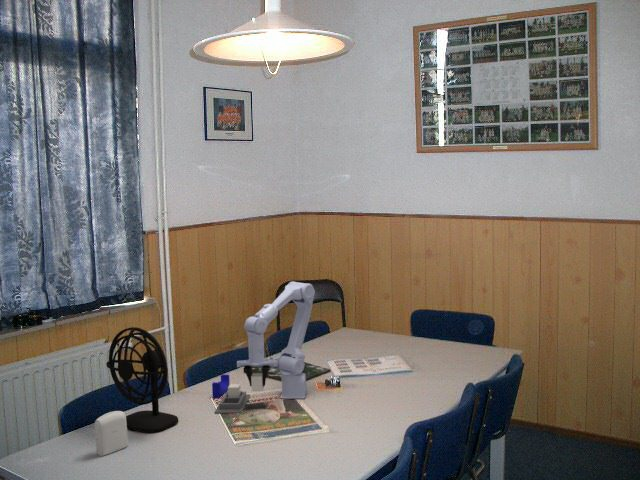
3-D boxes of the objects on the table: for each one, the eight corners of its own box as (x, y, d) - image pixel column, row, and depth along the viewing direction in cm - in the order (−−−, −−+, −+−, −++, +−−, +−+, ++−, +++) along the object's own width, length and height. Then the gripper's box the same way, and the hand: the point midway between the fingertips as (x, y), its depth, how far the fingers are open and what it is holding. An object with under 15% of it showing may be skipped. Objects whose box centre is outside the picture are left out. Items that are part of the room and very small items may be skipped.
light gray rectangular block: (264, 387, 268) (263, 373, 267) (262, 391, 264) (262, 376, 263) (253, 387, 268) (252, 373, 267) (251, 391, 264) (251, 376, 263)
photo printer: (102, 457, 224) (99, 418, 223) (94, 454, 227) (92, 416, 226) (130, 447, 232) (128, 409, 231) (122, 444, 235) (120, 407, 233)
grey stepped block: (250, 395, 280) (249, 380, 280) (242, 413, 260) (241, 397, 260) (224, 395, 281) (224, 380, 280) (214, 413, 261) (213, 397, 260)
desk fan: (99, 426, 252) (93, 327, 248) (136, 410, 266) (131, 317, 263) (157, 439, 238) (151, 335, 234) (192, 422, 252) (188, 324, 249)
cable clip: (218, 388, 291) (218, 374, 290) (229, 389, 290) (229, 374, 289) (208, 398, 279) (208, 383, 278) (220, 398, 278) (219, 383, 277)
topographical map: (296, 386, 293) (296, 379, 292) (239, 373, 313) (239, 366, 313) (335, 371, 313) (335, 364, 312) (279, 359, 333) (279, 353, 333)
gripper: (234, 352, 261) (236, 389, 262) (274, 352, 260) (276, 388, 261) (238, 347, 268) (239, 383, 269) (277, 347, 267) (278, 382, 268)
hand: (257, 385), depth 266 cm, fingers closed on light gray rectangular block, 4 cm apart
